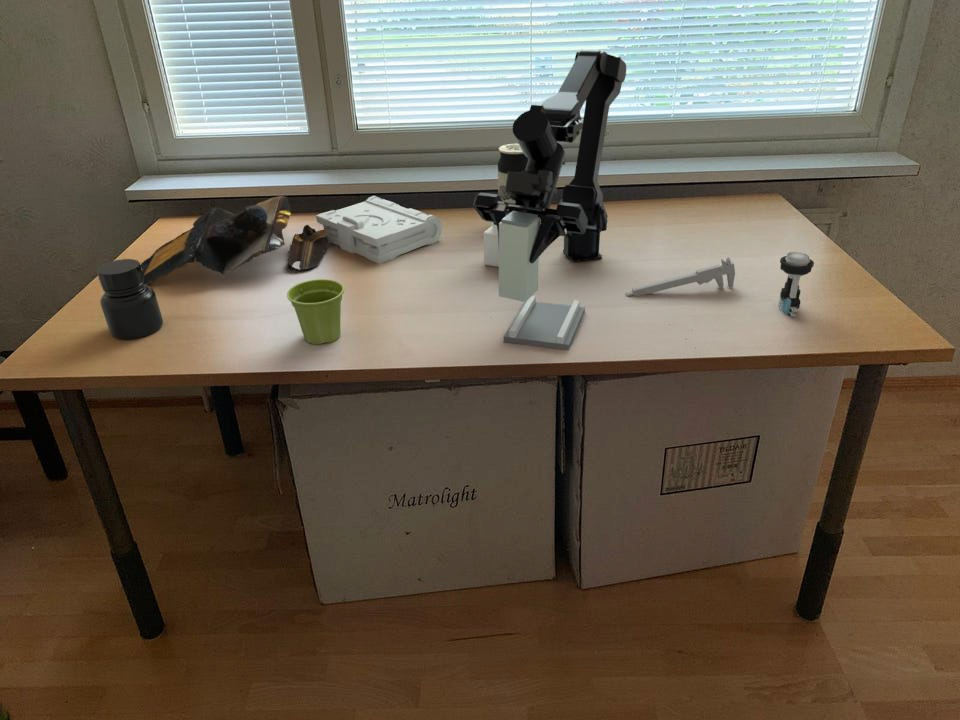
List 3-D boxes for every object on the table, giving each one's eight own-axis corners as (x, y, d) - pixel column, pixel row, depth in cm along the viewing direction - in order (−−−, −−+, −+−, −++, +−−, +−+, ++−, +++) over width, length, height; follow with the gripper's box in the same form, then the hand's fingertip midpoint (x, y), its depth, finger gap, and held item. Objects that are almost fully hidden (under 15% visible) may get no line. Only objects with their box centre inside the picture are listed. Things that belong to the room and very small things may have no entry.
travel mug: (520, 217, 171) (520, 141, 162) (539, 226, 166) (540, 148, 156) (492, 224, 168) (490, 146, 159) (511, 233, 162) (510, 154, 153)
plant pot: (361, 328, 124) (355, 283, 120) (330, 354, 117) (322, 306, 113) (316, 320, 128) (309, 275, 123) (283, 344, 120) (274, 297, 116)
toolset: (124, 301, 135) (100, 188, 144) (162, 343, 153) (139, 240, 162) (330, 243, 141) (295, 138, 150) (343, 289, 160) (311, 193, 169)
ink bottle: (160, 312, 133) (143, 252, 126) (171, 330, 126) (153, 268, 120) (104, 326, 128) (83, 265, 122) (112, 346, 122) (90, 282, 116)
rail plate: (525, 305, 130) (525, 294, 129) (584, 312, 127) (585, 301, 126) (503, 341, 119) (503, 330, 118) (568, 350, 116) (568, 338, 115)
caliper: (730, 287, 135) (735, 256, 132) (732, 289, 134) (737, 258, 131) (625, 295, 133) (627, 264, 130) (627, 298, 132) (629, 266, 129)
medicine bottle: (528, 257, 150) (528, 201, 144) (515, 270, 144) (515, 213, 138) (497, 252, 153) (496, 198, 146) (483, 265, 147) (482, 209, 141)
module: (511, 284, 124) (512, 209, 117) (537, 290, 122) (540, 214, 115) (498, 296, 121) (499, 219, 113) (525, 302, 119) (527, 224, 111)
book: (371, 214, 178) (367, 184, 174) (445, 241, 160) (443, 209, 156) (304, 237, 167) (299, 205, 163) (376, 268, 149) (372, 234, 145)
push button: (809, 319, 122) (821, 265, 117) (776, 318, 123) (787, 264, 118) (798, 302, 128) (810, 250, 123) (768, 301, 128) (778, 249, 123)
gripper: (475, 144, 116) (447, 231, 113) (585, 154, 109) (557, 247, 106) (496, 178, 126) (471, 259, 123) (598, 189, 119) (573, 275, 116)
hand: (515, 259), depth 117 cm, fingers closed on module, 5 cm apart
